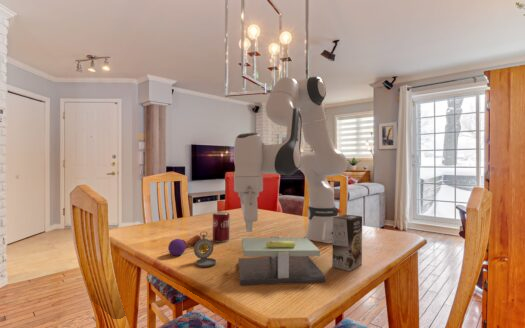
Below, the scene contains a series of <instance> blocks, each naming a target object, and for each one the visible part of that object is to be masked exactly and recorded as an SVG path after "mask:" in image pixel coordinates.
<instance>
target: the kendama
mask: <svg viewBox="0 0 525 328" xmlns="http://www.w3.org/2000/svg"><path fill="white" fill-rule="evenodd" d="M201 239H202V238H201V236H200V234H196V235H194V236H193V237H191V238H190V239H188V240H183V239H181V238H175V239H172V240H171V241H170V242H169V244H168V248H167V249H168V250H167V251H168V253H170V254H171V255H172V256H175V257H177V256H180V255H182V254H184V252H185V250H186V249H187V246H190V245H193V244H194V245H195V244H196V243H197V242H198V241H199V240H201Z"/></svg>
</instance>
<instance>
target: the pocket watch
mask: <svg viewBox="0 0 525 328" xmlns="http://www.w3.org/2000/svg"><path fill="white" fill-rule="evenodd" d="M202 233H203V231H201V232H200V233H199V236H200V237H202V238H201V240H199V241H198V242H197V243H196V244H194V246H193V253H194V255H195V256H196V257H197V258H198V259H196V261H195V265H196V266H198V267H202V268H203V267H206V268H207V267H211V266H214V265H216V263H217V259H216V258H212V257H210V256H212V254H213V252H214V243H213V242H212V240H210V239H208V238H206V237H207V235H208V232H207V231H205V234H206V235H205V234H202Z"/></svg>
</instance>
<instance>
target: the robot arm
mask: <svg viewBox="0 0 525 328" xmlns="http://www.w3.org/2000/svg"><path fill="white" fill-rule="evenodd" d="M326 96H327V89H326V84H325V82H324V80H323V79H322V78H321V77H319V76H310V77H308V78H303V79H299V80H296V79H295V78H293V77H290V76H283V77H281V78H279V79H278V80H277V81H276V83H275V84H274V86H273V87H272V89H271V91H270V92H269V96H268V99H267V100H266V103H265V114H266V116H267V117H268V118H269V120H270V121H271V122H272V123H274V124H275V125H278V126H282V127H285V128H286V137H285V141H283V142H282V143H277V144H274V143H273V144H265V142H263V141H262V138H261V134H260V133H258V132H248V133H247V132H246V133H241V134H238V135H236V137H235V140H234V148H233V163H234V173H233V174H234V175H233V192H235V193H238V195H237V196H238V198H239V199H240V206H241V211H242V215H243V220H244V222H245V230H246V232H247V233H250V232H253V223H255V222H257V221H258V217H259V215H258V198H259V197H260V193H262V192H263V191H264V175H263V174H265V175H268V174H269V175H282V176H288V177H289V176H292V175H294V174H295V173H296V172H297V171H299V169H300V171H301V173H303V175H304V177H305V181H306V183H307V187H308V206H307V207H308V209H307V218H308V223H307V230H306V234H305V238H308V239H309V240H310V241H312V242H313V241H314V242H318V243H319V242H321V243H324V244H333V217H337V216H339V214H342V212H343V210H342V208H338V207H335V190H334V188H333V186H332V185H330V183H329V181H328V179H327V177H337V176H340V175H343V174H344V173H346V171H347V168H348V159H347V157H346V156H345V154H344V153H343V152H341V151H340V150H339V149H338V148H337V147H336V145H335V144H334V141H333V140H332V138H331V135H330V130H329V125H328V122H327V117H326V112H325V109H324V106H323V102H324V100H325V97H326ZM302 133H303V134H302ZM302 135H303V139H304V141H305V143H306V144H308V145H309V146H310V148H311V149H312V152H308V153H305V154H303V155H301V154H302V153H301V146H302V145H301V142H302Z"/></svg>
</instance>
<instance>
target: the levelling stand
mask: <svg viewBox="0 0 525 328" xmlns="http://www.w3.org/2000/svg"><path fill="white" fill-rule="evenodd" d="M269 238H280V237H279V236H269ZM238 273H239V286H240V285H242V286H258V284H266V285H280V284H279V283H290V284H311V282H312V283H326V276H325V275H324V273H323V272H322V270H321V269H320V268H319V267H318V266H317V265H316V264H315V262H314V261H313V260H312V259H311V257H310V256H289V252H278V255H277V256H267V257H244V258H243V257H242V258H241V257H240V258H238ZM277 283H278V284H277Z"/></svg>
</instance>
